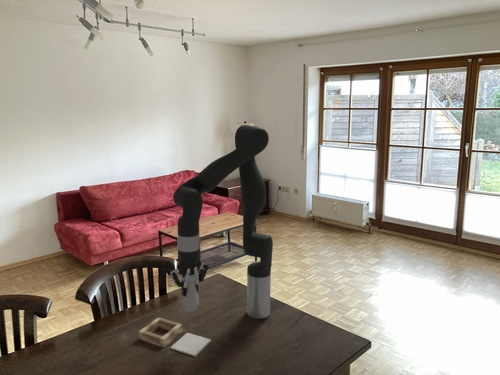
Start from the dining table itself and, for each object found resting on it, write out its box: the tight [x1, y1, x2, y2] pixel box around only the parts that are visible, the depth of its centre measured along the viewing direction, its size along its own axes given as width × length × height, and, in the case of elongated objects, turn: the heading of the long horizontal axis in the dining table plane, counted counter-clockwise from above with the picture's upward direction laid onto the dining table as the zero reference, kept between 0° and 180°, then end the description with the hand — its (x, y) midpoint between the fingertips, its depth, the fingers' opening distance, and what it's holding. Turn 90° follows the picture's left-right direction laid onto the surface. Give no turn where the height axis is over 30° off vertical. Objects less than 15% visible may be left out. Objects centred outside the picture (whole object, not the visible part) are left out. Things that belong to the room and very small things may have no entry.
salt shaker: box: [181, 274, 200, 313], centre depth 134 cm, size 6×6×13 cm
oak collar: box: [138, 316, 184, 348], centre depth 143 cm, size 11×11×3 cm
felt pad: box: [170, 332, 212, 357], centre depth 138 cm, size 10×10×1 cm
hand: (190, 295), depth 134 cm, fingers closed on salt shaker, 3 cm apart
